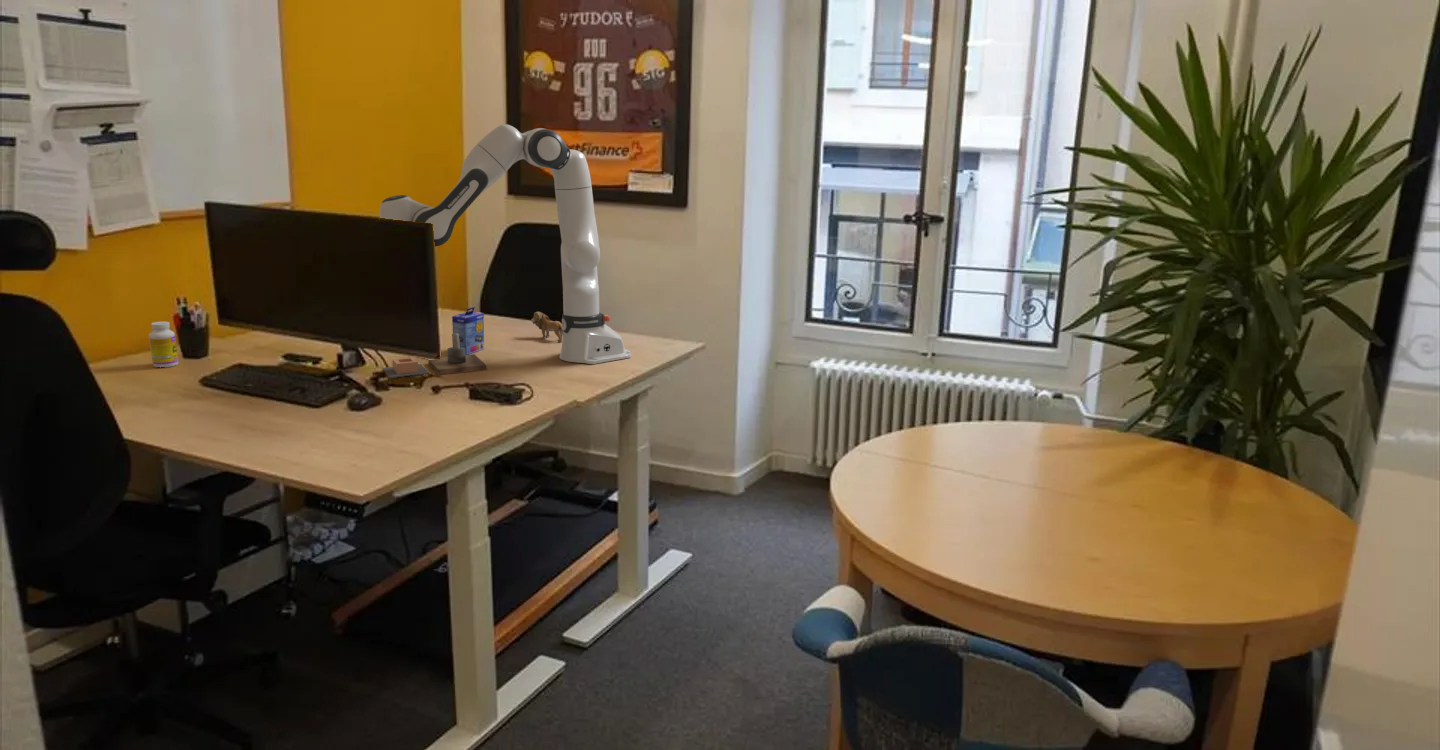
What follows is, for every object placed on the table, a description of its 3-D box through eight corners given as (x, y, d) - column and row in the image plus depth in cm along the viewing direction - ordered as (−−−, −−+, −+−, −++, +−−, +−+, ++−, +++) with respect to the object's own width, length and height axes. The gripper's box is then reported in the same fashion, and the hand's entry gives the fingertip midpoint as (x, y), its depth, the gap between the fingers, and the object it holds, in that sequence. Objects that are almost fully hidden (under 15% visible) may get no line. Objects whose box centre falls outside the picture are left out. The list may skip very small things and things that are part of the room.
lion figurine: (529, 338, 325) (528, 312, 323) (539, 335, 330) (538, 309, 327) (564, 343, 319) (564, 317, 316) (574, 340, 323) (573, 314, 321)
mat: (421, 365, 289) (421, 363, 288) (429, 374, 279) (428, 372, 279) (383, 369, 283) (383, 367, 283) (389, 378, 274) (389, 377, 274)
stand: (474, 358, 297) (472, 327, 295) (486, 369, 286) (484, 337, 283) (428, 363, 291) (426, 331, 288) (438, 374, 279) (436, 341, 276)
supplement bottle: (178, 367, 282) (172, 324, 278) (152, 369, 279) (146, 326, 275) (179, 361, 287) (173, 319, 284) (154, 363, 285) (147, 321, 281)
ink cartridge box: (466, 355, 301) (464, 310, 297) (452, 353, 303) (450, 308, 299) (486, 349, 310) (483, 305, 306) (472, 347, 312) (469, 303, 308)
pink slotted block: (414, 366, 285) (413, 357, 284) (418, 371, 280) (417, 361, 279) (393, 368, 282) (392, 359, 282) (397, 373, 277) (396, 363, 276)
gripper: (418, 257, 265) (421, 306, 269) (403, 248, 282) (407, 294, 286) (394, 259, 262) (398, 308, 266) (381, 249, 279) (385, 295, 283)
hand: (402, 301), depth 276 cm, fingers open, 8 cm apart
